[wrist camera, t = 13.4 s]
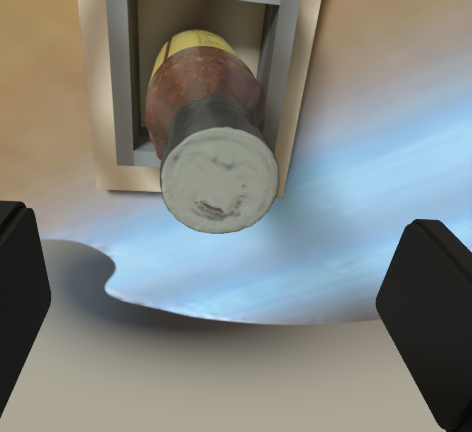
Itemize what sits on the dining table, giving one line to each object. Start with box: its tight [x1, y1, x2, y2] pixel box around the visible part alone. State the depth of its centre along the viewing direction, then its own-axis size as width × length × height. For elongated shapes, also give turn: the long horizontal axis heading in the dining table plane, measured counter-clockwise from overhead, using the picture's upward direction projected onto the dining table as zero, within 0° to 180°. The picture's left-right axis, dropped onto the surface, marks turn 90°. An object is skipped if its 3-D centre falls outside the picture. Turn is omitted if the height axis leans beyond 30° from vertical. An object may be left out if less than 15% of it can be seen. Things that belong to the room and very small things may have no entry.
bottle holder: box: [78, 0, 321, 197], centre depth 28 cm, size 17×22×6 cm
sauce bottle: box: [145, 29, 280, 234], centre depth 21 cm, size 7×6×20 cm
